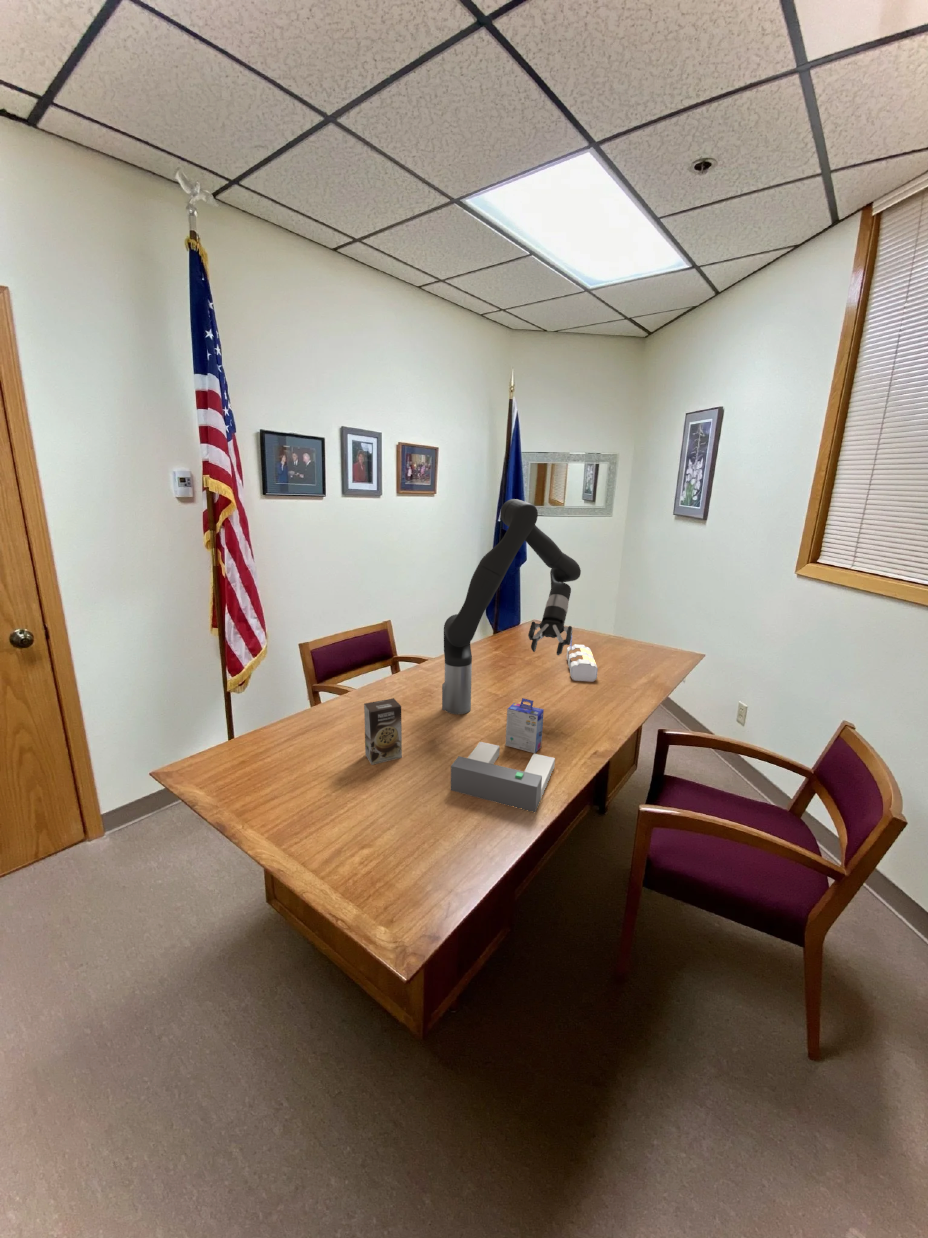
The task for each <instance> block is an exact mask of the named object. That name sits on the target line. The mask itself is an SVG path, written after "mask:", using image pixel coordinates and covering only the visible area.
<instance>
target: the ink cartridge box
mask: <svg viewBox="0 0 928 1238" xmlns="http://www.w3.org/2000/svg"><path fill="white" fill-rule="evenodd" d="M525 702H527V703H529V704H530V705H529V704H526V703H525ZM533 705H534V700H531V699H529V698H527V699H526V698H524V697H523V698H521V700H520V703H516V702H513V703H512V704H511V705H510V706H509V707H508V708H507V709H506V723H505V724H506V726H505V727H506V729H505V743H504V746H506V747H510V748H514V749H516V750H521V751H525V752H529V753H533V754H537V752H538V751H539V750H540V749H541V748H542V744H543V728H544V727H543V726H544V714H545V713H544V711H545V709H543V708H538V707H536V706H533Z"/></svg>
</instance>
